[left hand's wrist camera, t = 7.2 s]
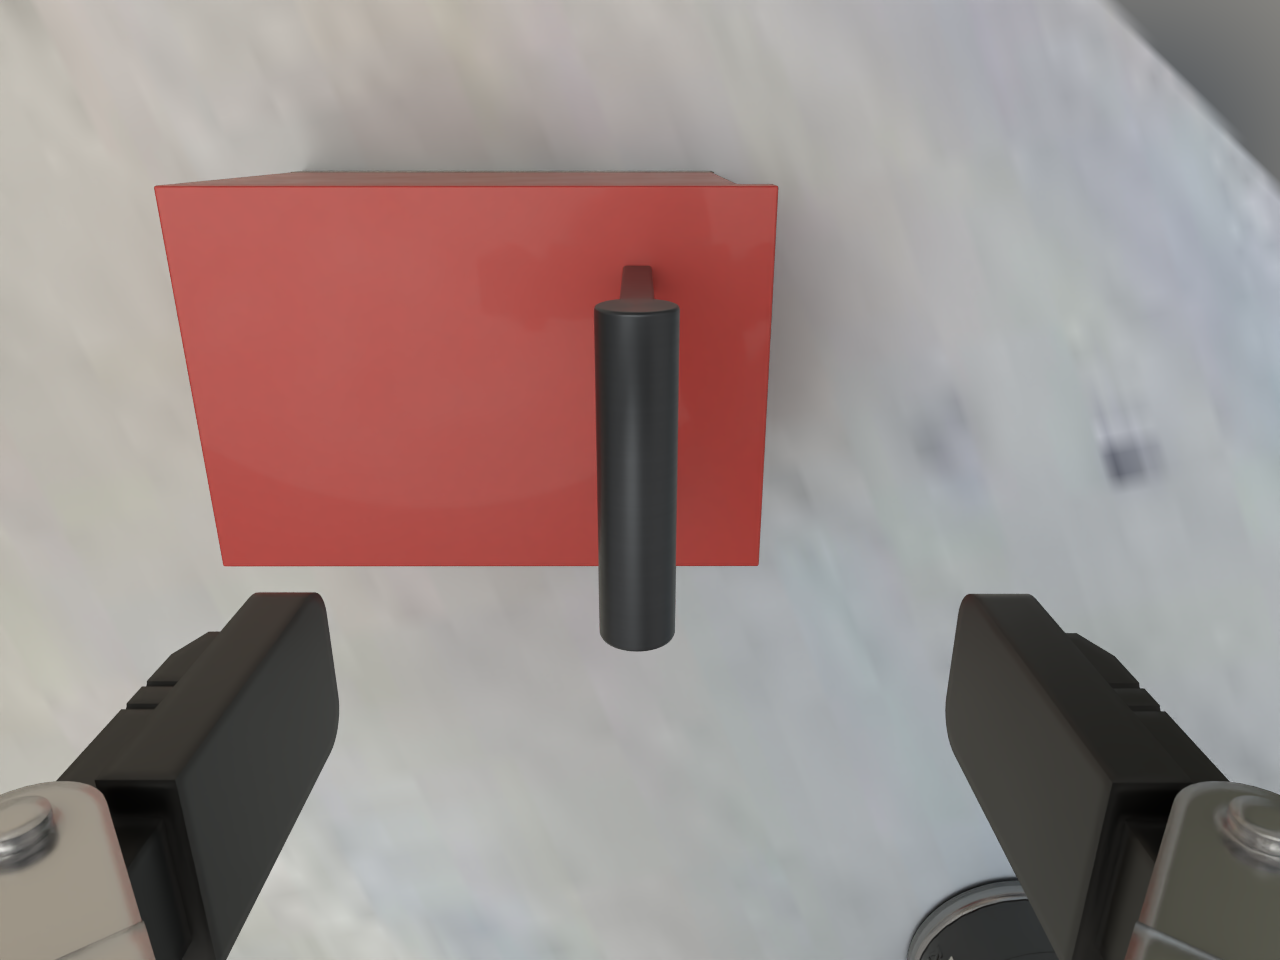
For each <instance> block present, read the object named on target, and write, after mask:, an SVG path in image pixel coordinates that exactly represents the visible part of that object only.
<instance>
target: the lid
mask: <svg viewBox="0 0 1280 960" xmlns="http://www.w3.org/2000/svg"><path fill="white" fill-rule="evenodd" d="M154 190H155V195H156V201H157V206H158V212H159V217H160V222H161V228H162V233H163V239H164V244H165V250H166V255H167V261H168V266H169V271H170V277H171V282H172V288H173V293H174V299H175V304H176V310H177V315H178V320H179V326H180V331H181V337H182V342H183V348H184V353H185V359H186V364H187V369H188V375H189V380H190V386H191V391H192V397H193V402H194V408H195V413H196V419H197V424H198V429H199V435H200V440H201V446H202V451H203V457H204V462H205V468H206V473H207V478H208V484H209V489H210V495H211V500H212V506H213V511H214V517H215V522H216V527H217V533H218V538H219V544H220V549H221V555H222V560H223V565H224V566H599V619H600V634H601V637H602V638H603V640H604V641H605V642H606V643H607V644H609V645H611V646H613V647H615V648H618V649H621V650H626V651H648V650H653V649H657V648H659V647H662V646H664V645H665V644H667V643H668V642H669V641H670V640H671V639H672V637H673V636H674V633H675V589H676V566H758V564H759V547H760V528H761V509H762V490H763V471H764V452H765V432H766V413H767V394H768V375H769V356H770V337H771V318H772V298H773V279H774V260H775V241H776V222H777V203H778V186H776V185H773V184H168V185H158V186H155V187H154Z"/></svg>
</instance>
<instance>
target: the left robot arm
mask: <svg viewBox="0 0 1280 960" xmlns="http://www.w3.org/2000/svg"><path fill="white" fill-rule="evenodd" d="M945 711H946V726H947V733H948V738H949V741H950V745H951V748H952V750H953V753H954V755H955V757H956V759H957V761H958V763H959V765H960V767H961V769H962V771H963V773H964V775H965V776H966V778H967V780H968V782H969V784H970V786H971V788H972V790H973V792H974V794H975V796H976V798H977V800H978V802H979V804H980V806H981V808H982V810H983V812H984V814H985V816H986V818H987V820H988V822H989V823H990V825H991V827H992V829H993V831H994V833H995V835H996V837H997V839H998V841H999V843H1000V845H1001V847H1002V849H1003V851H1004V853H1005V855H1006V857H1007V859H1008V861H1009V863H1010V865H1011V867H1012V869H1013V871H1014V872H1015V874H1016V876H1017V878H1018V880H1019V881H1004V882H996V883H991V884H987V885H983V886H979V887H976V888H973V889H971V890H968V891H966V892H963V893H961V894H959V895H957V896H955V897H953V898H952V899H950V900H948V901H947V902H945V903H944V904H942V905H941V906H940V907H938V908H937V909H936V910H935V911H933V912H932V913H931V914H930V915H929V916H928V917H927V918H926V919H925V921H924V922H923V923H922V924H921V926H920V927H919V928H918V930H917V932H916V933H915V935H914V937H913V939H912V941H911V944H910V947H909V950H908V956H907V960H1280V795H1278V794H1276V793H1273V792H1271V791H1268V790H1264V789H1261V788H1258V787H1254V786H1250V785H1245V784H1241V783H1234V782H1230V781H1229V780H1228V779H1227V778H1226V777H1225V776H1224V775H1223V774H1222V773H1221V772H1220V771H1219V770H1218V768H1217V767H1216V766H1215V765H1214V764H1213V763H1212V762H1211V761H1210V760H1209V759H1208V758H1207V756H1206V755H1205V754H1204V753H1203V752H1202V751H1201V750H1200V749H1199V748H1198V747H1197V746H1196V744H1195V743H1194V742H1193V741H1192V740H1191V739H1190V738H1189V737H1188V736H1187V735H1186V734H1185V732H1184V731H1183V730H1182V729H1181V728H1180V727H1179V726H1178V725H1177V724H1176V723H1175V722H1174V720H1173V719H1172V718H1171V717H1170V716H1169V715H1168V714H1167V713H1166V712H1161V711H1160V705H1159V704H1158V703H1157V702H1156V701H1155V700H1154V699H1153V698H1152V696H1151V695H1150V694H1149V693H1148V692H1147V691H1146V690H1145V689H1140V687H1139V682H1138V681H1137V680H1136V679H1135V678H1134V677H1133V676H1132V675H1131V674H1130V672H1129V671H1128V670H1127V669H1126V668H1125V667H1124V666H1123V665H1122V664H1121V663H1120V662H1119V660H1118V659H1117V658H1116V657H1115V656H1113V655H1112V654H1110V653H1108V652H1107V651H1105V650H1103V649H1102V648H1100V647H1098V646H1097V645H1095V644H1093V643H1092V642H1090V641H1088V640H1087V639H1085V638H1084V637H1082V636H1080V635H1079V634H1077V633H1065V632H1064V631H1063V630H1062V629H1061V628H1060V627H1059V625H1058V624H1057V623H1056V622H1055V621H1054V620H1053V618H1052V617H1051V616H1050V615H1049V614H1048V613H1047V611H1046V610H1045V609H1044V608H1043V607H1042V606H1041V604H1040V603H1039V602H1038V601H1037V600H1036V599H1035V598H1034V597H1033V596H1032V595H1030V594H968V595H966V596H965V597H964V599H963V600H962V602H961V605H960V608H959V613H958V620H957V627H956V634H955V640H954V647H953V654H952V661H951V668H950V675H949V682H948V689H947V696H946V709H945ZM338 721H339V698H338V690H337V683H336V676H335V669H334V662H333V655H332V648H331V641H330V634H329V627H328V620H327V613H326V608H325V604H324V601H323V599H322V597H321V596H320V595H319V594H318V593H255V594H253V595H252V596H251V597H250V598H249V599H248V600H247V601H246V602H245V603H244V605H243V606H242V607H241V608H240V609H239V610H238V612H237V613H236V614H235V615H234V616H233V618H232V619H231V620H230V621H229V622H228V623H227V625H226V626H225V627H224V628H223V629H222V630H221V632H208V633H206V634H204V635H203V636H201V637H199V638H198V639H196V640H194V641H193V642H191V643H189V644H188V645H186V646H184V647H183V648H181V649H180V650H178V651H176V652H175V653H173V654H171V655H170V656H169V657H168V659H167V660H166V661H165V662H164V663H163V664H162V665H161V666H160V667H159V669H158V670H157V671H156V672H155V673H154V674H153V675H152V676H151V677H150V678H149V680H148V681H147V686H146V687H141V688H140V689H139V691H138V692H137V693H136V694H135V695H134V696H133V697H132V698H131V699H130V700H129V702H128V703H127V707H126V709H121V710H120V711H119V713H118V714H117V715H116V716H115V717H114V718H113V719H112V720H111V721H110V722H109V724H108V725H107V726H106V727H105V728H104V729H103V730H102V731H101V732H100V733H99V735H98V736H97V737H96V738H95V739H94V740H93V741H92V742H91V743H90V744H89V746H88V747H87V748H86V749H85V750H84V751H83V752H82V753H81V754H80V755H79V757H78V758H77V759H76V760H75V761H74V762H73V763H72V764H71V765H70V766H69V768H68V769H67V770H66V771H65V772H64V773H63V774H62V775H61V776H60V777H59V779H58V780H57V781H54V782H46V783H39V784H35V785H30V786H26V787H22V788H19V789H16V790H12V791H9V792H7V793H4V794H2V795H0V960H226V959H227V957H228V955H229V953H230V951H231V949H232V947H233V945H234V943H235V941H236V939H237V937H238V935H239V933H240V931H241V929H242V927H243V925H244V923H245V921H246V919H247V917H248V915H249V913H250V911H251V909H252V907H253V905H254V903H255V901H256V899H257V897H258V895H259V893H260V891H261V889H262V887H263V885H264V883H265V881H266V879H267V878H268V876H269V874H270V872H271V870H272V868H273V866H274V864H275V862H276V860H277V858H278V856H279V854H280V852H281V850H282V848H283V846H284V844H285V842H286V840H287V838H288V836H289V834H290V832H291V830H292V828H293V826H294V824H295V822H296V820H297V818H298V816H299V814H300V812H301V810H302V808H303V806H304V804H305V802H306V800H307V798H308V796H309V794H310V792H311V790H312V788H313V786H314V784H315V782H316V780H317V778H318V776H319V774H320V772H321V770H322V768H323V766H324V764H325V762H326V761H327V759H328V757H329V755H330V753H331V750H332V748H333V745H334V742H335V738H336V734H337V729H338Z"/></svg>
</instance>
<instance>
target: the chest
mask: <svg viewBox="0 0 1280 960" xmlns="http://www.w3.org/2000/svg"><path fill="white" fill-rule="evenodd" d="M180 184H735V183H733V182H731V181H729V180H727V179H724V178H722V177H720V176H718V175H716V174H714V172H712V171H297V172H291V173H282V174H272V175H262V176H251V177H241V178H231V179H221V180H210V181H200V182H190V183H180Z"/></svg>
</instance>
